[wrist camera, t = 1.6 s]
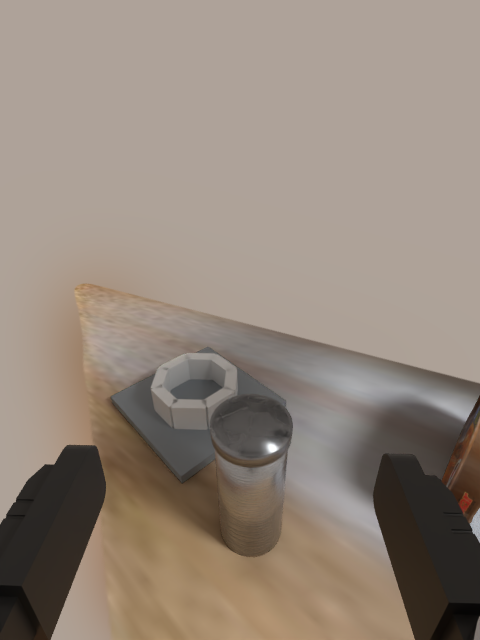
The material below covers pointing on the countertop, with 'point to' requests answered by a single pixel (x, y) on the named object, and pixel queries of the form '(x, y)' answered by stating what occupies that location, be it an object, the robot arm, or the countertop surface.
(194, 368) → the collar
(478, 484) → the tin
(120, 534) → the countertop surface
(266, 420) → the silver metal canister
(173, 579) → the countertop surface
